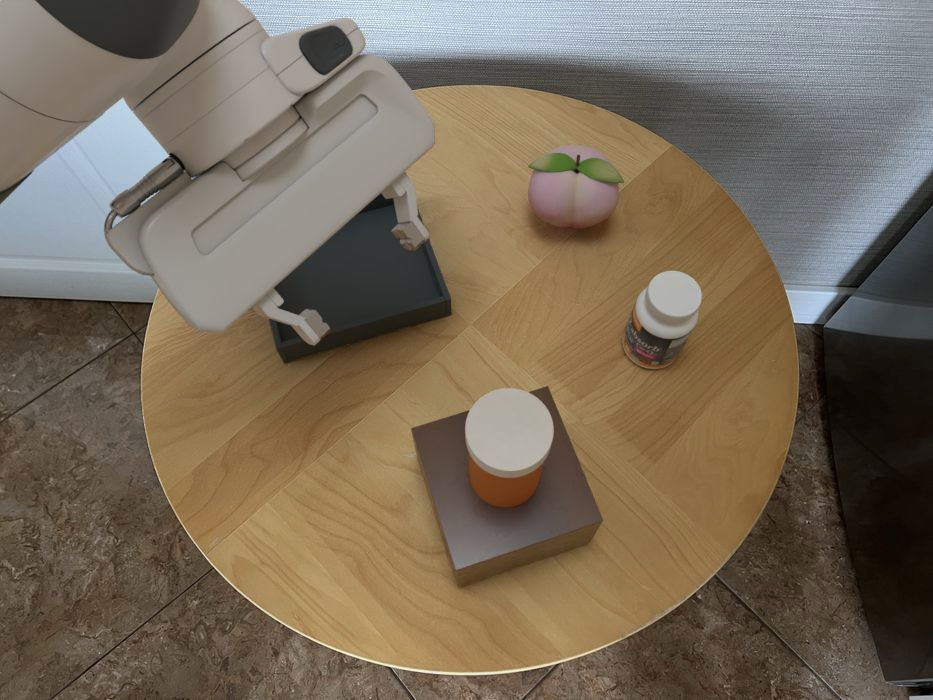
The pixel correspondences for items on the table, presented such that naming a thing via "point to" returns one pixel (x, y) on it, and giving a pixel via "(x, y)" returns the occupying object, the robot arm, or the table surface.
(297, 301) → the slate tray
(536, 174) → the decorative fruit
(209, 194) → the robot arm
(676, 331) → the pill bottle
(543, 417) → the amber pill bottle
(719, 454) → the table surface
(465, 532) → the walnut block
